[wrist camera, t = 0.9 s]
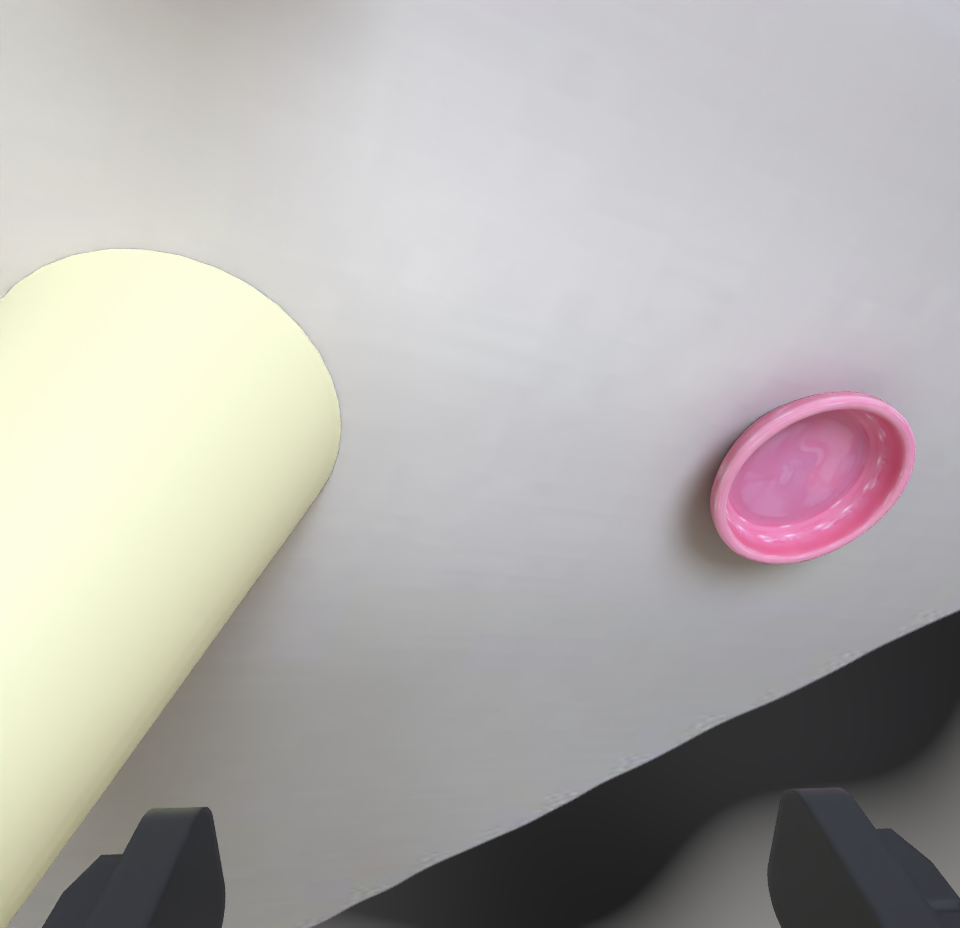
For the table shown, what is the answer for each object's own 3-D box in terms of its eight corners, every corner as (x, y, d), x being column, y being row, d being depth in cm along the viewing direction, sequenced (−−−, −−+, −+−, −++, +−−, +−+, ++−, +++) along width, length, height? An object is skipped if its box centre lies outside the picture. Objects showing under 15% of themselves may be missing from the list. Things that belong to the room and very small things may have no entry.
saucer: (910, 464, 44) (943, 492, 41) (745, 564, 47) (767, 595, 45) (844, 333, 38) (878, 356, 35) (661, 458, 41) (680, 488, 38)
